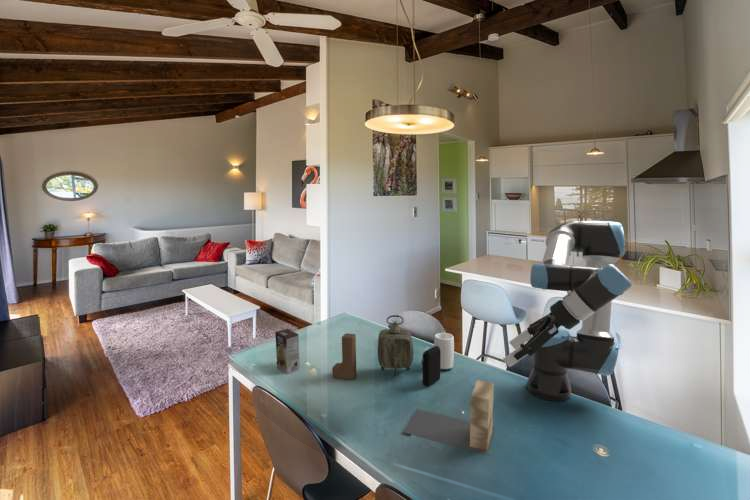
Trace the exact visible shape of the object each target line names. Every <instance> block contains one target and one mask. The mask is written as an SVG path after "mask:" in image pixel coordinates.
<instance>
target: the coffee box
mask: <svg viewBox="0 0 750 500" xmlns="http://www.w3.org/2000/svg"><path fill="white" fill-rule="evenodd" d="M274 333H275V334H274V335H275V347H276V351H275V352H276V367H277V368H278V369H279V370H281V371H282V372H284V373H285V374H287V375H289V374H292V373H294V372H297V371H300V370H301V369H300V368H301V367H300V366H301V365H300V341H299V338H300V337H299V336H300V335H299V333H298V332H295V331H293V330H291V329H290V328H286V329H281V330H277V331H274Z"/></svg>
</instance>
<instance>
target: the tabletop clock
mask: <svg viewBox="0 0 750 500" xmlns="http://www.w3.org/2000/svg"><path fill="white" fill-rule="evenodd" d="M390 318H400V319H401V320H402V321H401V322H398V323H397V321H394V322H393V323H392V322H390V321H389V319H390ZM404 321H405V320H404V318H403V317H402V316H401V315H398V314H393V315H392V314H391V315H390V316H387V317H386V323H387V324H388V325H391V326H390V327H389V328H385V329H382V330H380V331H379V333H378V338H377V340H378V341H377V359H378V364H379V366H380V370H381V371H384V370H385V369H394V372H393V376H394V377H397V376H398V372H397V369H405V370H406V371H410V369H411V366H412V364H413V360H414V344H413V337H412V333H411V331H410V330H408V329H406V328H405V329H404V328H401V327H400V325H403V323H404Z"/></svg>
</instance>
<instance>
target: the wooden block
mask: <svg viewBox="0 0 750 500" xmlns="http://www.w3.org/2000/svg"><path fill="white" fill-rule="evenodd" d="M356 338H357V336H356V334H354V333H349V332H348V333H344V334H343V335H342V337H341V355H342V356H341V360H342V361H341V362H336V363H335V364H334V365H333V366H332V367H331V368H332V370H331V371H332V378H335V379H339V380H340V379H341V380H348V381H354V379H355V378H356V377H357V347H356V346H357V345H356V344H357V342H356V341H357V339H356Z"/></svg>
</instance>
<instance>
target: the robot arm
mask: <svg viewBox="0 0 750 500" xmlns="http://www.w3.org/2000/svg"><path fill="white" fill-rule="evenodd" d="M625 242H626V240H625V232H624V227H623V225H622V223H620V222H618V221H609V220H570V221H566V222H563V223H561V224H558V225H556V226H555V227H554V228H552V229H551V230H550V231H549V232H548V234H547V236H546V239H545V246H546V248H545V251H544V255H543V257H542V261H541V262H540V263H533V264H532V265H531V269H530V275H529V276H530V278H529V279H530V282H529V283H530V286H531V287H532V288H533V289H541V290H543V291H545V290H549V291H559V292H566V295H564V296H563V297H562V299H559V300H557V301H556V302H554V303H553V304H552V305H551V306H550V307H549V310H550V312H549V313H548V314H546V315H544V316H543V317H541V318H539V319H537V320H536V321H534V322H531V323H530V324H529V326H528V327H527V328H526V329H525V330H523V331H522V332H521V333H520V334H518V335H517V336H515V337H514V338H513V339H511V340H510V341H509V342H508V343H509V344H510V345H511V346H512V348H513V349H514V350H513V351H512V352H510V353H508V355H506V356H505V357H504V358H502V360H503V362H504V363H505V364H506V365H507V366H508V367H509V368H511V367H512V366H514V365H516V364H517V363H519V362H520V361H521V360H522V359H525V357H527V356H529V357H531V356H533V361H532V369H531V371H530V374H529V376H528V379H527V382H526V389H527V390H528V392H529V393H531V395H534V396H536V397H538V398H540V399H543V400H547V401H555V402H558V401H559V402H561V401H565V400H569V399H570V398H571V397H572V387H571V383H570V380H569V377H568V370H573V371H574V370H575V371H578V372H585V373H590V374H595V375H597V376H598V375H601V376H611V375H612V374H613V373H614V371H615V368H616V366H617V361H618V355H619V349H620V344H619V343H618V342H616V341H615V336H614V335H613V334H612V333H611V332H610V331H611V317H612V316H611V314H612V302H613V301H614V300H615V299H616V298H619V296H622V295H624V293H625V292H626V291H628V290H629V289H631V287H632V286H633V285H632V282H631V280H630V279H629V278H628V277H627V276H626V275H625V274H624V273H623V272H622V271H621V270H620V269H619V268H618V267H617V266H615V263H617V262H618V261H619V260H620V256H623V255H625V252H626V243H625ZM572 252H574V253H581V254H582V256H581V258H582V259H583V260H584V261H585V262H586V263H585V265H586V266H580V265H578V266H576V265H569V262H570V256H571V253H572ZM580 322H581V328H580V329H579V330H578V331H576V336H572V335H571V333H570V332H569V331H568V330H571V329H573V328H574V327H576V326H577V325H578V324H580ZM560 327H564V328H565V329H562V328H560Z"/></svg>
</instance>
